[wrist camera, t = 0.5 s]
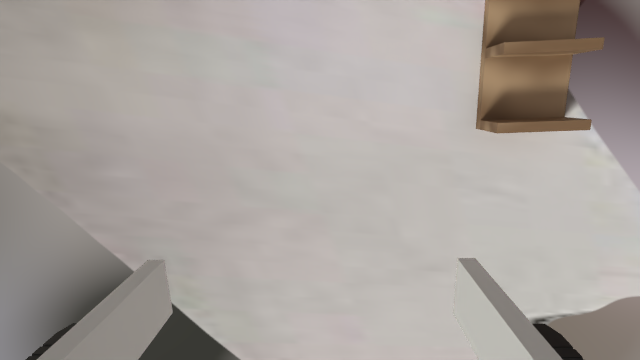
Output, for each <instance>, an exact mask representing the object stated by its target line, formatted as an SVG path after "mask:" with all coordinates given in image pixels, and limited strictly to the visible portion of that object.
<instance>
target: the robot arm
mask: <svg viewBox="0 0 640 360" xmlns="http://www.w3.org/2000/svg"><path fill="white" fill-rule="evenodd" d="M171 314H172V305H171V299H170V293H169V286H168V280H167V274H166V267H165V261H164V260H147V261H146V262H145V263H144V264H143V265H142V266H141V267H140V268H138V269H137V270H136V271H135V272H134V273H133V274H132V275H131V276H130V277H129V278H127V279H126V280H125V281H124V282H123V283H122V284H121V285H120V286H118V287H117V288H116V289H115V290H114V291H113V292H112V293H111V294H109V295H108V296H107V297H106V298H105V299H104V300H103V301H102V302H100V303H99V304H98V305H97V306H96V307H95V308H94V309H93V310H92V311H90V312H89V313H88V314H87V315H86V316H85V317H84V318H83V319H81V320H80V321H79V322H78V323H73V324H71V325H69V326H68V327H66V328H64V329H63V330H61V331H59V332H57V333H56V334H55V335H54V336H53V337H52V338H50V339H49V340H48V341H47V342H46V343H44V344H43V347H40V348H38V349H37V350H36V351H35V352H34V353H33V354H32V356H29V357H28V358H27V359H26V360H138V359H139V358H140V356H141V355H142V353H143V352H144V351H145V349H146V348H147V346H148V345H149V344H150V342H151V341H152V340H153V339H154V337H155V336H156V334H157V333H158V332H159V330H160V329H161V328H162V326H163V325H164V323H165V322H166V321H167V320H168V318H169V317H170V315H171ZM453 314H454V316H455V318H456V320H457V322H458V323H459V325H460V327H461V329H462V331H463V333H464V334H465V336H466V338H467V340H468V342H469V344H470V345H471V347H472V349H473V351H474V353H475V355H476V356H477V358H478V360H583V358H582V356H581V355H580V354H579V353H578V352H577V351H576V350H575V349H573V347H572V346H571V345H570V343H569V342H568V341H567V340H566V339H565V338H564V337H563V336H562V335H561V334H559V333H558V332H556V331H555V330H553V329H552V328H550V327H549V326H547V325H546V324H532V323H531V322H530V321H529V320H528V319H527V318H526V316H525V315H524V314H523V313H522V312H521V311H520V310H519V308H518V307H517V306H516V305H515V304H514V303H513V301H512V300H511V299H510V298H509V297H508V296H507V294H506V293H505V292H504V291H503V290H502V289H501V288H500V286H499V285H498V284H497V283H496V282H495V281H494V279H493V278H492V277H491V276H490V275H489V274H488V272H487V271H486V270H485V269H484V268H483V267H482V266H481V264H480V263H479V262H478V261H477V260H476V259H475V258H457V270H456V281H455V293H454V305H453Z"/></svg>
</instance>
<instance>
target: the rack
mask: <svg viewBox="0 0 640 360" xmlns="http://www.w3.org/2000/svg"><path fill="white" fill-rule="evenodd" d="M579 4H580V0H485V12H484V26H483V40H482V53H481V67H480V81H479V95H478V108H477V122H476V129H480V130H485V131H489V132H494V133H516V132H545V131H573V130H590V127H591V120H590V119H579V118H567V117H564V115H565V108H566V100H567V93H568V85H569V78H570V70H571V63H572V56H573V54H578V53H583V52H589V51H595V50H600V49H603V43H604V38H586V39H575V34H576V26H577V19H578V12H579Z"/></svg>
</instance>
